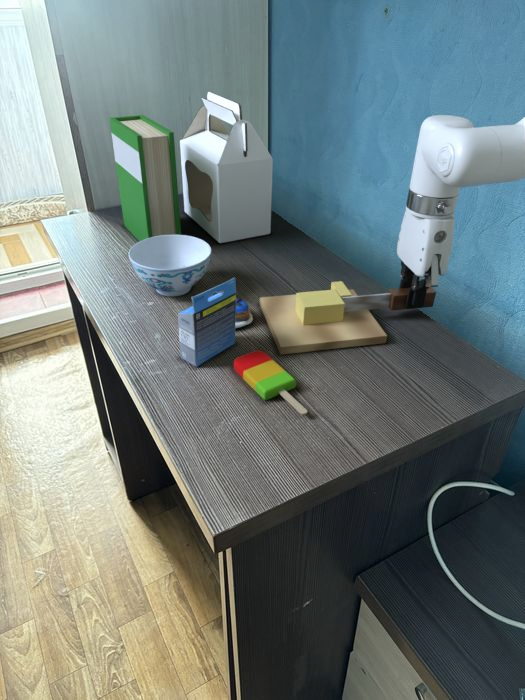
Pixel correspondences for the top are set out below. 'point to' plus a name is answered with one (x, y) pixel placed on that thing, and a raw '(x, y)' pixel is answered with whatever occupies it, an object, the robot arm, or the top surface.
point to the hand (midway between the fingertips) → (409, 302)
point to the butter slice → (340, 289)
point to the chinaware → (170, 262)
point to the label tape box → (208, 324)
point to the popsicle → (267, 377)
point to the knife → (385, 300)
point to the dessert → (242, 313)
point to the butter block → (319, 307)
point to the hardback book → (146, 176)
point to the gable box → (226, 173)
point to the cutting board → (318, 328)
